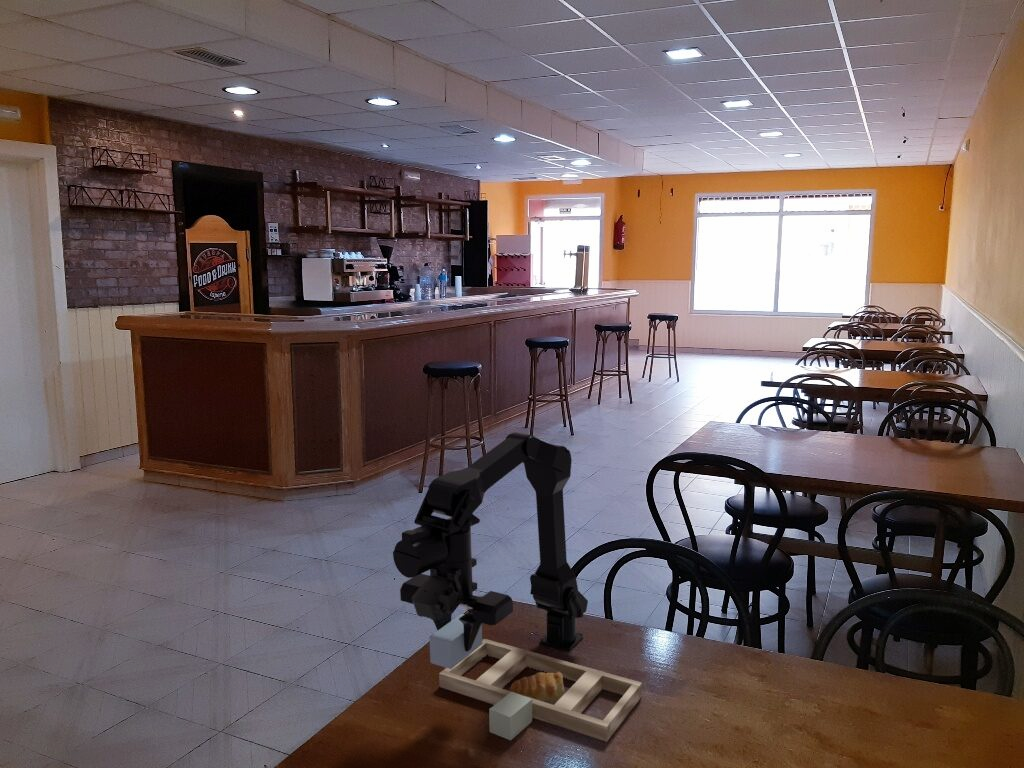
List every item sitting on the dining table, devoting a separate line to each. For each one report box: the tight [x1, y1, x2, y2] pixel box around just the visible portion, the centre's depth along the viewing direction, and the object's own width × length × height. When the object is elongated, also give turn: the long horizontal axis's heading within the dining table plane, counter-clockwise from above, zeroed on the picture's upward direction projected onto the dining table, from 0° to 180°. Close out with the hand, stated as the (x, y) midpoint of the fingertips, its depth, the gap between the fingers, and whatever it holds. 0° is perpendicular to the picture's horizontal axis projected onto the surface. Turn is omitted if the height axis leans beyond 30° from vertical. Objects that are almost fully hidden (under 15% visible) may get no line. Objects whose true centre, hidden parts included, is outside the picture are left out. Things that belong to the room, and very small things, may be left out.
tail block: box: [488, 692, 533, 741], centre depth 123 cm, size 6×4×4 cm, turn 145°
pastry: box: [509, 671, 566, 705], centre depth 132 cm, size 9×7×4 cm
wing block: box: [428, 613, 483, 669], centre depth 127 cm, size 9×4×4 cm, turn 149°
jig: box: [438, 638, 643, 743], centre depth 133 cm, size 14×31×2 cm, turn 59°
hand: (457, 647), depth 127 cm, fingers closed on wing block, 4 cm apart
